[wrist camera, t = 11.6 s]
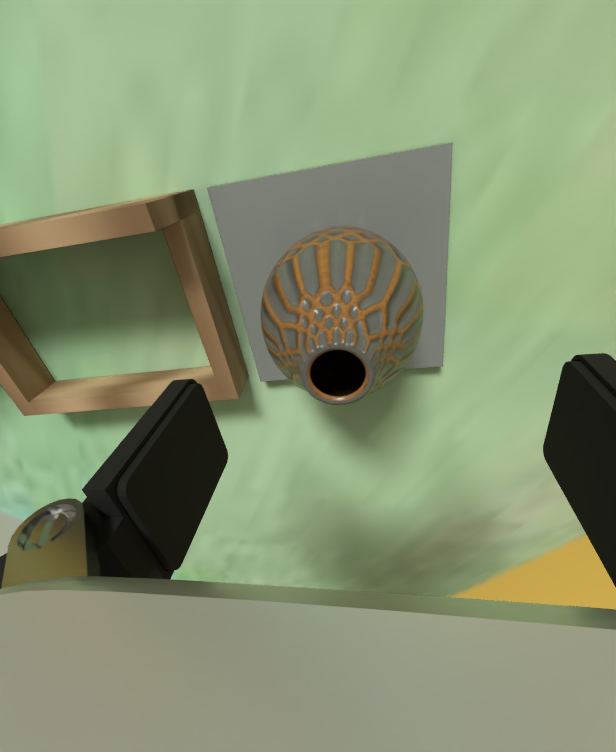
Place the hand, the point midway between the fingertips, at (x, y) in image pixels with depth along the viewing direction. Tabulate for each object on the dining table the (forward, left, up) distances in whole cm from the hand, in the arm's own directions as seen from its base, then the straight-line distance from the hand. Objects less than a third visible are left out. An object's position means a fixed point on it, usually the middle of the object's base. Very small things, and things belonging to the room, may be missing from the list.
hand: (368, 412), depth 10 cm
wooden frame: (+15, 0, -11) cm, 19 cm away
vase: (+1, 0, -11) cm, 11 cm away
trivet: (+1, 0, -11) cm, 12 cm away
